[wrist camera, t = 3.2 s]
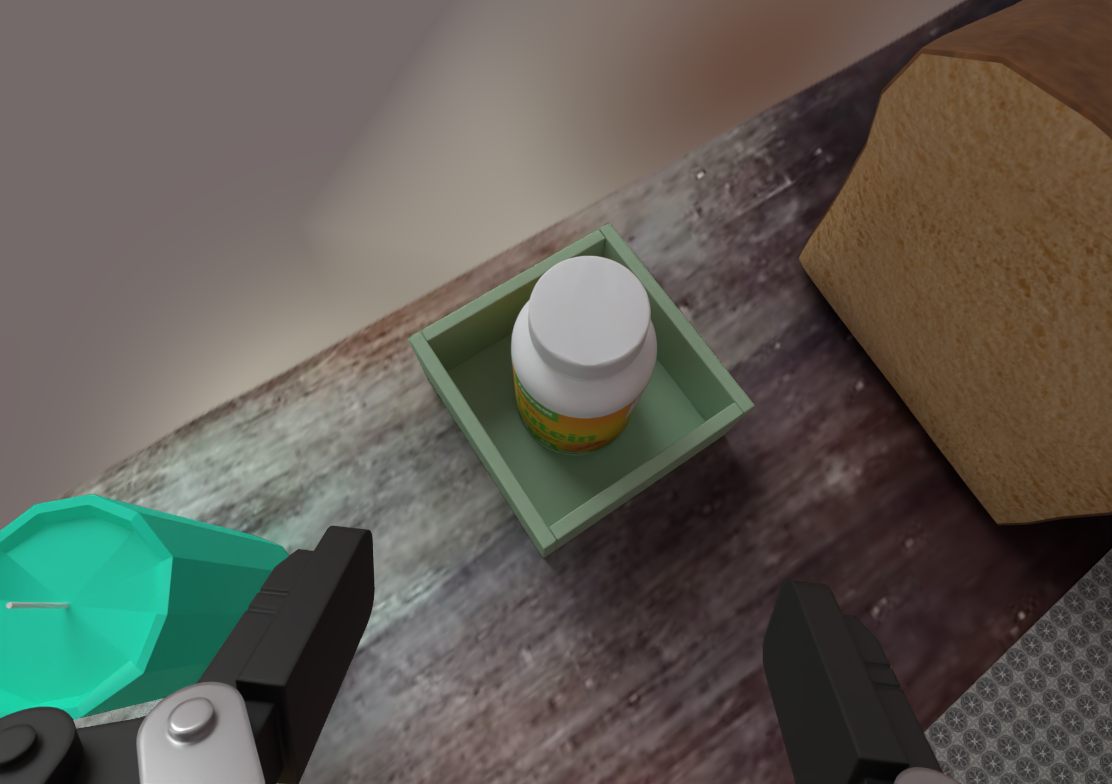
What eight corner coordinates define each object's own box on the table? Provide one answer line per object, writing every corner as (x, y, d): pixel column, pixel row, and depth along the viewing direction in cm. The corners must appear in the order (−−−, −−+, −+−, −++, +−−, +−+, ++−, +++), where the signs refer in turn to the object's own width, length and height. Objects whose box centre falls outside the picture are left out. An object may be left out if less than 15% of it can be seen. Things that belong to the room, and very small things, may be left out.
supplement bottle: (498, 431, 29) (477, 350, 20) (543, 331, 31) (545, 214, 22) (607, 476, 29) (639, 414, 19) (648, 372, 30) (695, 269, 21)
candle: (181, 711, 26) (-105, 793, 14) (144, 571, 27) (-139, 545, 16) (325, 642, 27) (163, 667, 15) (280, 510, 28) (105, 446, 17)
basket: (543, 558, 28) (543, 550, 24) (425, 375, 30) (407, 337, 26) (724, 434, 30) (755, 405, 26) (600, 272, 32) (609, 221, 28)
